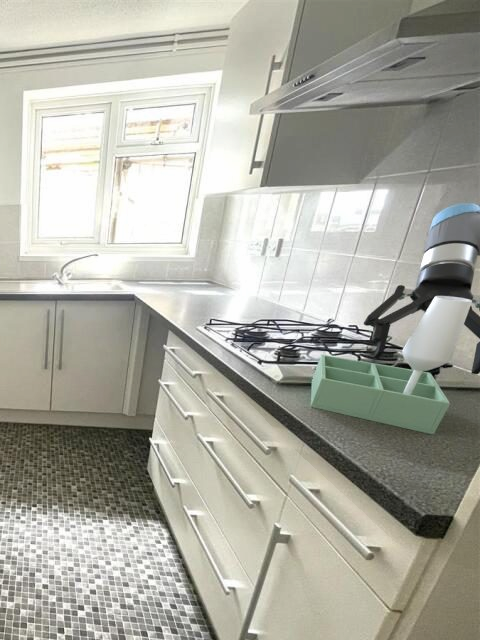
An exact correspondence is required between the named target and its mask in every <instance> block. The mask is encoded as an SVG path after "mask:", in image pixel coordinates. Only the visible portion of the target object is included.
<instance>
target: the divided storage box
mask: <svg viewBox="0 0 480 640" xmlns="http://www.w3.org/2000/svg"><path fill="white" fill-rule="evenodd" d="M413 371H414V369H409V368H403V367H397V366H393V365H386V364H381V363H380V364H379V363H375V362H368V361H363V360H356V359H350V358H345V357H338V356H332V355H327V354H320V357H319V359H318V362H317V365H316V367H315V370H314V373H313V375H312V378H313V379H312V378H311V388H310V389H311V391H310V408H313V409H318V410H322V411H327V412H332V413H336V414H341V415H345V416H349V417H354V418H357V419H362V420H367V421H371V422H375V423H381V424H384V425H389V426H394V427H398V428H402V429H407V430H409V431H410V430H411V431H416V432H420V433H424V434H428V435H432V436H434V435H435V433H436V431H437V429H438V427H439V425H440V423H441V422H442V420H443V418H444V416H445V414H446V413H447V410H448V409H449V407H450V405H451V402H450V401H449V399H448V398H447V396H446V395H445V393H444V392H443V390H442V388H441V387H440V386H439V384H438V382H437V380H436V379H435V377H434V376H433V374H432V373H431V372H428V371H422V373H421V375H420V377H419V379H418V381H417V383H416V385H415V387H414V389H413V391H412V394H411V395H409V394H403V392H404V390H405V388H406V386H407V384H408V381H409V379H410V377H411V375H412V373H413Z"/></svg>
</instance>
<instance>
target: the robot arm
mask: <svg viewBox="0 0 480 640" xmlns="http://www.w3.org/2000/svg"><path fill="white" fill-rule="evenodd" d="M432 218H433V219H432V221H431V224H430V228H429V230H428V232H427V235H426V236H427V238H426V242H425V248H424V252H423V256H422V260H421V264H420V268H419V273H418V275H417V281H416V285H415V288H414V289H410V288H406V286H405V285H403V284H399V285H397V286H396V287H395V289H394V291H393V292H392V294H391V295H390V296H389V297H388V298H387V299H385V300H384V301H383V302H382V303H381V304H379V306H378V307H376V308H375V309H374V310H373V311H372V312H371V313H369V314H368V315H367V316H366V317H365V320H364V321H363V325H364V326H366V327H369V326H370V327H372V331H373V332H372V336H371V341H372V342H375V343H376V348H375V352H374V355H373V359H378V360H379V359H380V358H381V357H382V355H384V353H385V348H386V346H387V340H388V336H389V332H390V328H391V325H392V324H394V323H396V322H398V321H401V320H402V319H404V318H406V317H407V316H410V315H413V314H415V313H417V312H419V311H422V312H423V313H424V314H425V312H426V311H427V309H428V307H429V306H430V304H431V302H432V301H433V299H434V297H435V296H450V297H459V298H465V299H469V300H472V303H471V304H474V307H475V308H476V309H478V311H479V312H480V295H473V293H472V287H473V281H474V277H475V271H476V266H477V261H478V256H479V257H480V205H477V204H476V203H470V202H469V203H468V202H467V203H457V204H454V205H451V206H448V207H446V208H444V209H442V210H441V211H439V212H438V213H436V215H434V217H432ZM407 297H409V298H410V299H411V301H412V302H410V303H408V304H407V305H404V306H402V307H400V308H398V309H396V310H395V311H392V312H391V313H389V314H387V315H385V316H383V315H384V314H385V313H386V312H387V311H389V309H391V308H392V307H393V306H395V305H396V303H398V301H401V300H404V299H406V298H407ZM381 316H383V317H381ZM380 317H381V318H380ZM463 326H465V327H466V328H467V329H468V330H469V331H471V333H472V334H474V335H475V336H476V337H477V338H478V339H479V340H480V315H479V314H478V313H477V312H476V311H475V310H474V309H473V307H472V305H471V306H470V308H469V311H468V314H467V317H466V319H465V322H464V325H463ZM470 374H472V375H478V374H480V341H478V342H477V343H476V346H475V351H474V357H473V362H472V368H471V373H470Z"/></svg>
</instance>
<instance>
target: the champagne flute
mask: <svg viewBox="0 0 480 640" xmlns="http://www.w3.org/2000/svg"><path fill="white" fill-rule="evenodd" d="M472 304H473V303H472V300H469V299H465V298H459V297H450V296H435V297H434V299H433V301H432V302H431V304H430V306H429V307H428V309H427V311H426V312H425V313H424V314H423V315H422V317H421V319H420V321H419V322H418V324H417V325H416V327H415V329H414V330H413V332H412V333H411V335H410V337H409V338H408V340H407V342H406V343H405V345H404V347H403V348H402V350H401V353H402V357H403V359H404V361H405V362H406V363H407V365H409V367H410V368H412V370H414V371H413V373H412V375H411V377H410V379H409V381H408V384H407V386H406V388H405V390H404V392H403V394H409V395H411V394H412V391H413V389H414V387H415V385H416V383H417V381H418V379H419V377H420V375H421V373H422V372H428V371H430V370H433V369H437V368H439V367H442V366H444V365H446V364H447V363H449V362H451V360H452V358H453V356H454V352H455V349H456V347H457V344H458V341H459V339H460V337H461V333H462V331H463V328H464V326H465V325H464V322H465V319H466V317H467V314H468V311H469V308H470V306H472Z"/></svg>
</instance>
